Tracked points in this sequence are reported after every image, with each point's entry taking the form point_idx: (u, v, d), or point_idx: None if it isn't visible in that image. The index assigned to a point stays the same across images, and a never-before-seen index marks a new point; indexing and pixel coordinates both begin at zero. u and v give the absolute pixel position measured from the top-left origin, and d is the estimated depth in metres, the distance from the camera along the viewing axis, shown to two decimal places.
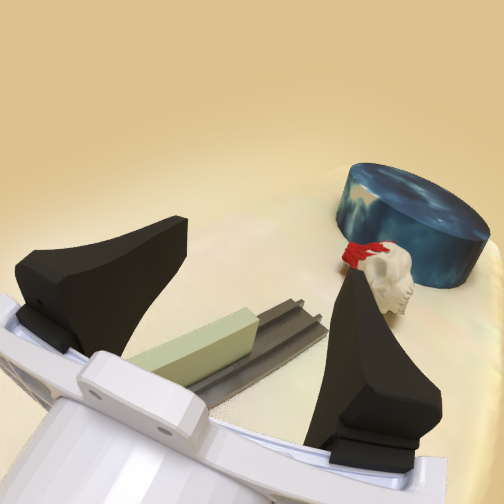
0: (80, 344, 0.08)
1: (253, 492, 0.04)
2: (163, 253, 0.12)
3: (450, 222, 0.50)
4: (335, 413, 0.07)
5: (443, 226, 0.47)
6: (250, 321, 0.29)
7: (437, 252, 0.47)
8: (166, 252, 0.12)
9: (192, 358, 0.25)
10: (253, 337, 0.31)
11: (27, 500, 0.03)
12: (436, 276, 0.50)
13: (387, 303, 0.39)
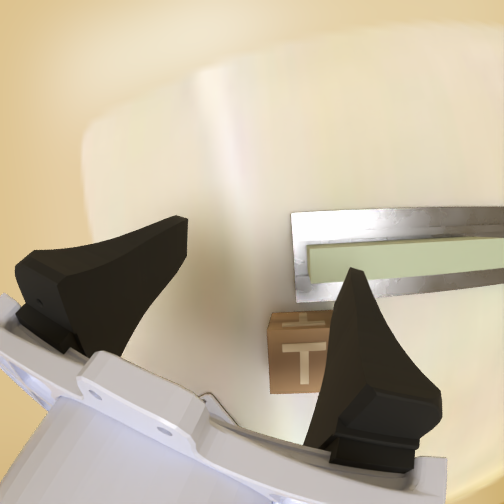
0: (80, 344, 0.08)
1: (254, 492, 0.04)
2: (163, 253, 0.12)
3: None
4: (335, 413, 0.07)
5: None
6: (497, 264, 0.16)
7: None
8: (166, 252, 0.12)
9: None
10: None
11: (27, 500, 0.03)
12: None
13: None
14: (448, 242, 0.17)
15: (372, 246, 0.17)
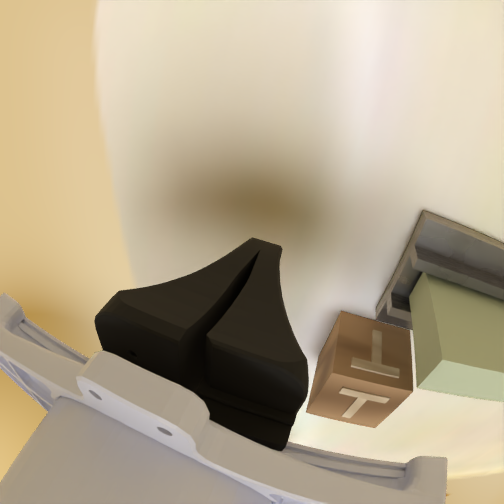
0: None
1: (254, 492, 0.04)
2: (247, 281, 0.11)
3: None
4: None
5: None
6: None
7: None
8: None
9: None
10: None
11: (27, 500, 0.03)
12: None
13: None
14: None
15: None
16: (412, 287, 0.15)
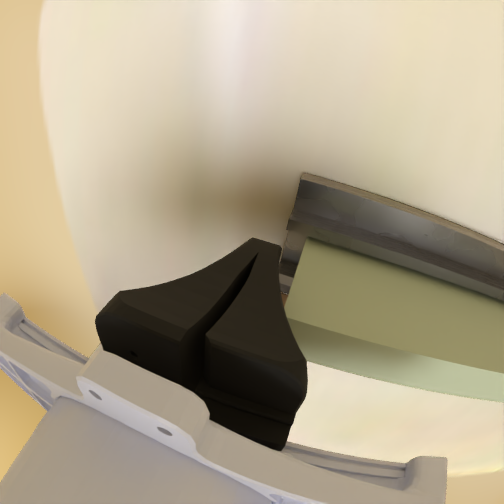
0: None
1: (253, 492, 0.04)
2: None
3: None
4: None
5: None
6: None
7: None
8: None
9: None
10: None
11: (27, 500, 0.03)
12: None
13: None
14: (485, 371, 0.09)
15: (380, 346, 0.10)
16: None
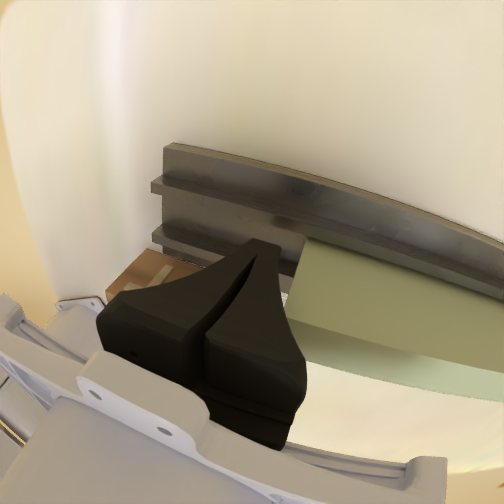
0: None
1: (254, 492, 0.04)
2: None
3: None
4: None
5: None
6: None
7: None
8: None
9: None
10: None
11: (27, 500, 0.03)
12: None
13: None
14: (485, 370, 0.09)
15: (380, 345, 0.10)
16: (177, 217, 0.18)
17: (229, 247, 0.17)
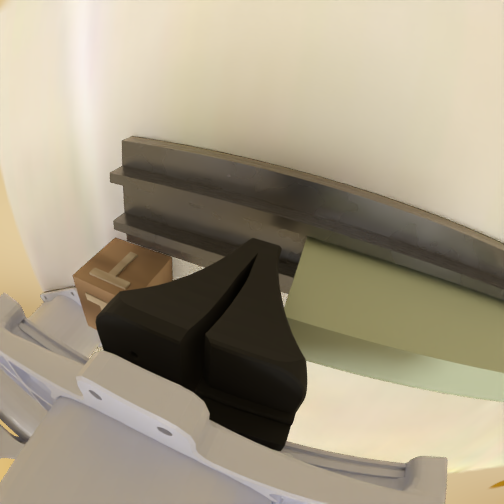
0: None
1: (254, 491, 0.04)
2: None
3: None
4: None
5: None
6: None
7: None
8: None
9: None
10: None
11: (27, 500, 0.03)
12: None
13: None
14: (485, 370, 0.09)
15: (380, 345, 0.10)
16: (136, 205, 0.18)
17: (182, 233, 0.18)
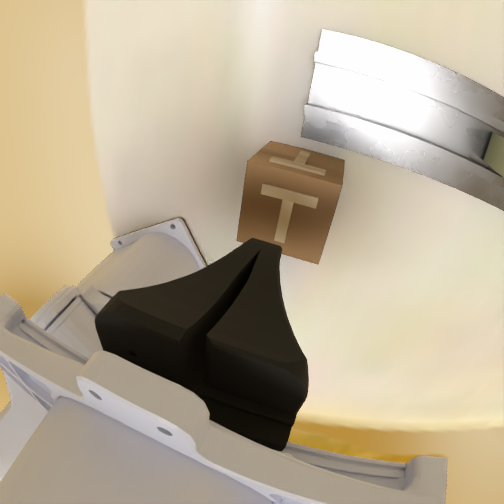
0: None
1: (254, 491, 0.04)
2: (247, 281, 0.11)
3: None
4: None
5: None
6: None
7: None
8: None
9: None
10: None
11: (27, 500, 0.03)
12: None
13: None
14: None
15: None
16: (327, 95, 0.16)
17: (381, 124, 0.16)
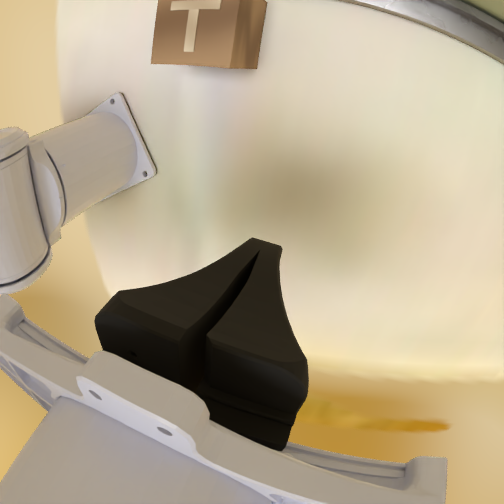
0: None
1: (253, 492, 0.04)
2: (247, 281, 0.11)
3: None
4: None
5: None
6: None
7: None
8: None
9: None
10: None
11: (27, 500, 0.03)
12: None
13: None
14: None
15: None
16: None
17: None
